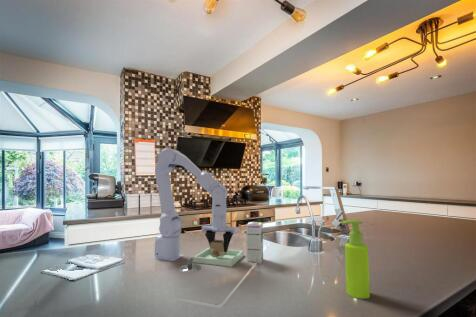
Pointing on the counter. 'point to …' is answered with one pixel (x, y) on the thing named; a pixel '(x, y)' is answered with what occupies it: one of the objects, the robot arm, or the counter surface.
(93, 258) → the bicycle print towel
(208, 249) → the tray
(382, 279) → the counter surface
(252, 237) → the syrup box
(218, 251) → the tan wooden hollow block
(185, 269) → the silver knobbed lid
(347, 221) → the soap dispenser
